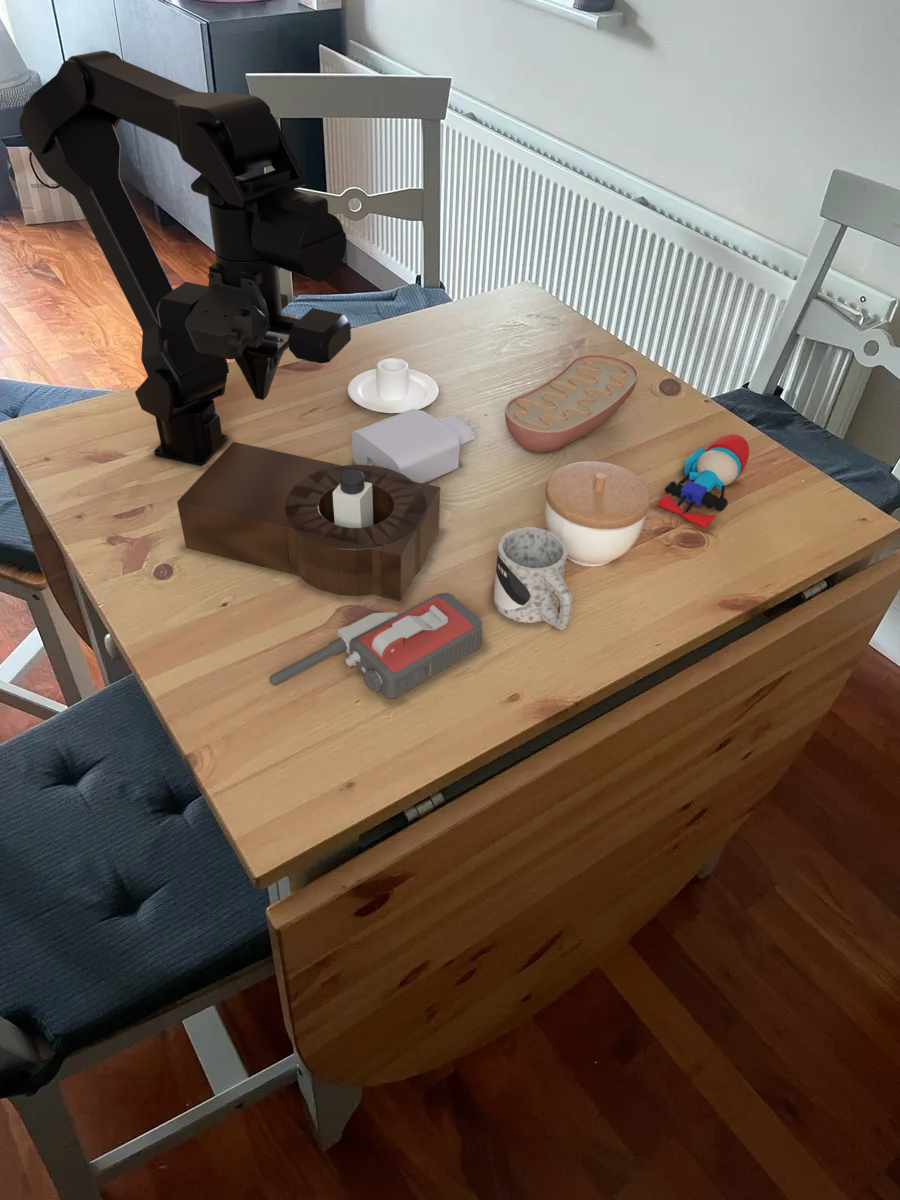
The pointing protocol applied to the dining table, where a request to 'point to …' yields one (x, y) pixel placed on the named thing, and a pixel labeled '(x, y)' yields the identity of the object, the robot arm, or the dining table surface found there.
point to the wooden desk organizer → (310, 521)
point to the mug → (532, 577)
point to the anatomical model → (570, 402)
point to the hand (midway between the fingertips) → (261, 397)
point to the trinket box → (596, 510)
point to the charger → (413, 444)
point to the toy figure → (708, 477)
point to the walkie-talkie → (401, 645)
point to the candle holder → (392, 388)
